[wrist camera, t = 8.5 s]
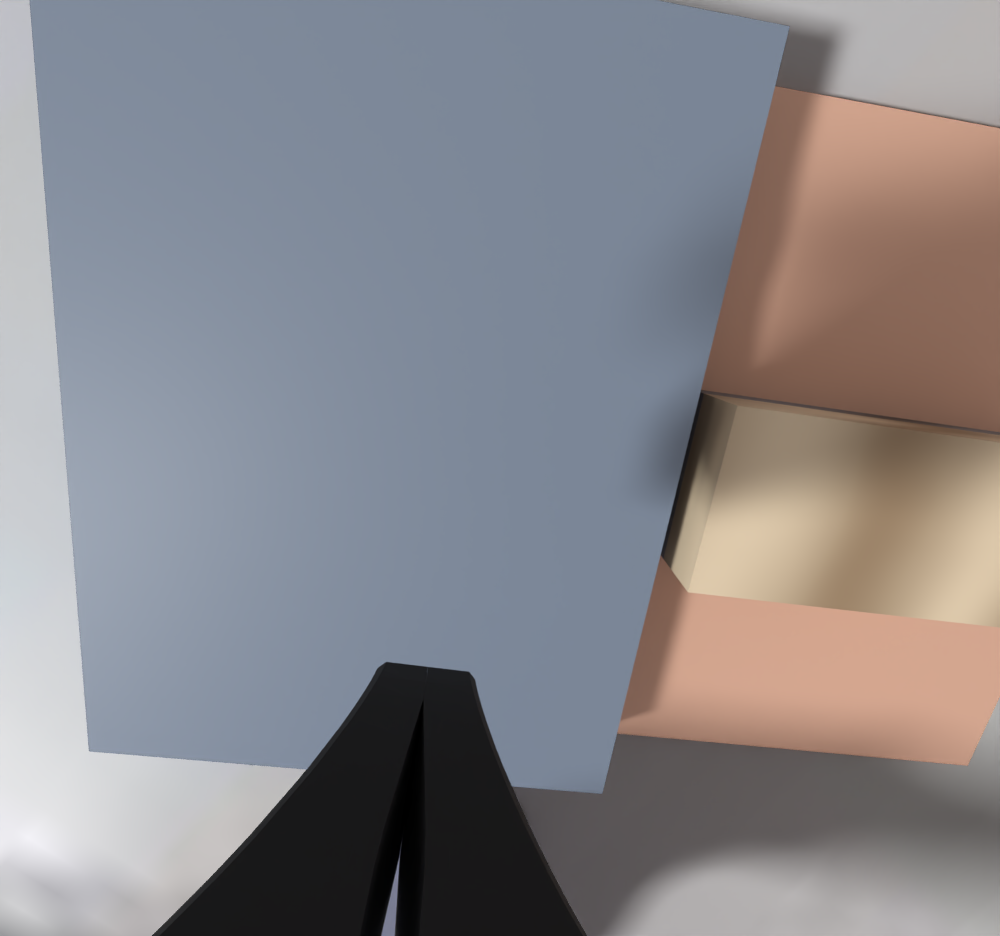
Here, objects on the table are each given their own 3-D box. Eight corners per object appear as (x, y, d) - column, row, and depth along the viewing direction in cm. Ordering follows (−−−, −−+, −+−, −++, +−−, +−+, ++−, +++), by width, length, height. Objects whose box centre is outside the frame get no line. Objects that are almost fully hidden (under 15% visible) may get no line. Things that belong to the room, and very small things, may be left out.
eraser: (1005, 433, 17) (1116, 458, 14) (946, 580, 18) (1035, 631, 15) (690, 388, 16) (737, 405, 13) (653, 545, 17) (687, 592, 14)
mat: (958, 756, 21) (967, 765, 20) (597, 723, 20) (599, 731, 19) (1224, 177, 15) (1244, 173, 15) (744, 87, 14) (752, 81, 14)
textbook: (583, 722, 19) (602, 794, 17) (149, 682, 18) (89, 751, 15) (725, 84, 14) (789, 26, 11) (122, -28, 13) (20, -125, 10)
